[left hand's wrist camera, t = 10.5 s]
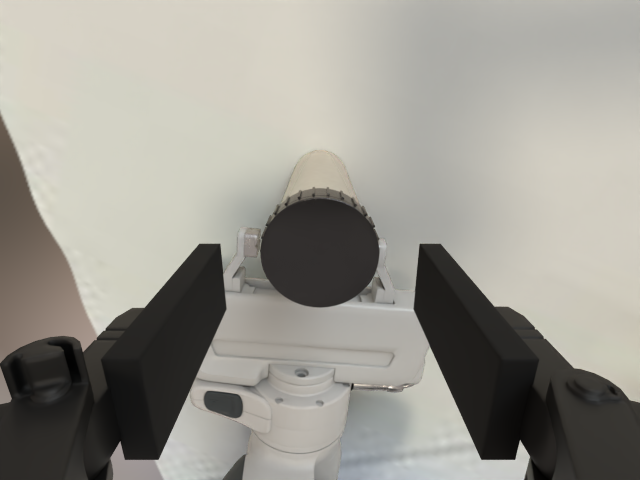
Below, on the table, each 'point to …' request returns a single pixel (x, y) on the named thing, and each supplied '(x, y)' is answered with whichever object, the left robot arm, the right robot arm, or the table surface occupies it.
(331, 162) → the jar
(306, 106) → the table surface
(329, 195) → the lid
